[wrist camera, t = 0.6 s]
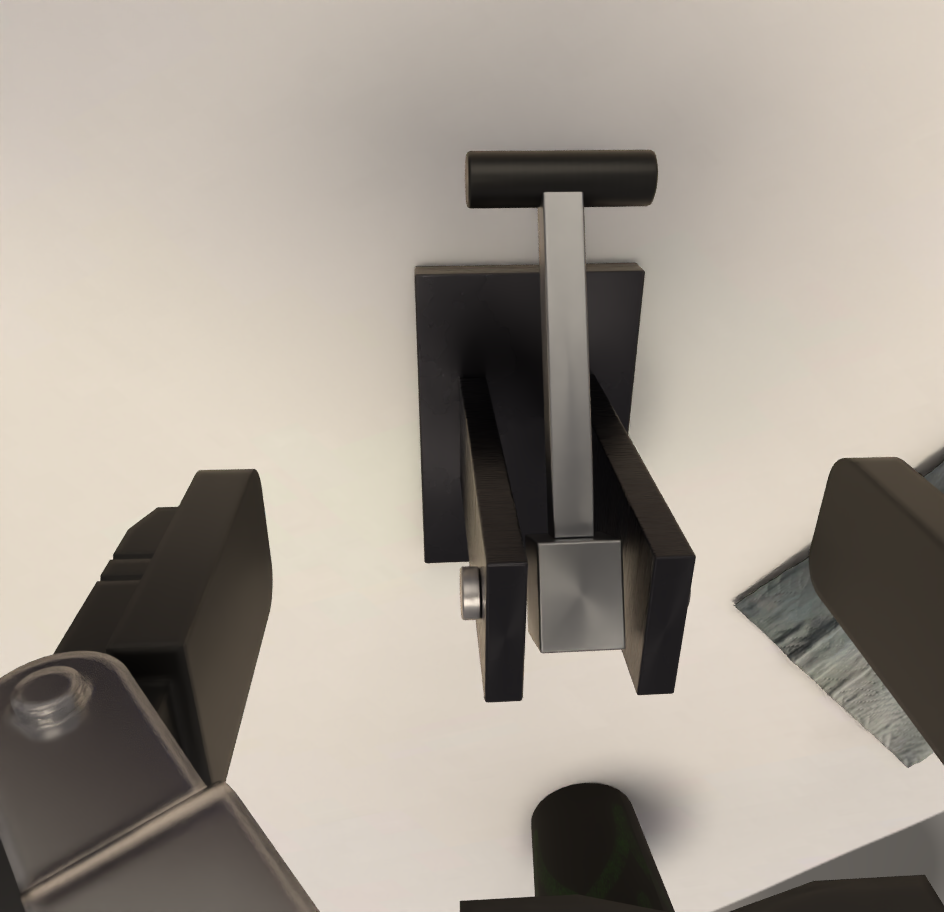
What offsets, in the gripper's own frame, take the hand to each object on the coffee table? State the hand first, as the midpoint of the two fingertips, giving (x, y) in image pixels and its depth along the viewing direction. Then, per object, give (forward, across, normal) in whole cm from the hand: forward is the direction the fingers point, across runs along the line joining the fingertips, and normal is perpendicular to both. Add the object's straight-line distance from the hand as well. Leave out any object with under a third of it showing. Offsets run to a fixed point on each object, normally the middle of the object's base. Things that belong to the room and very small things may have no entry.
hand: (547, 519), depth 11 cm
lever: (+11, -2, +3) cm, 11 cm away
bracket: (+18, -2, +7) cm, 20 cm away
